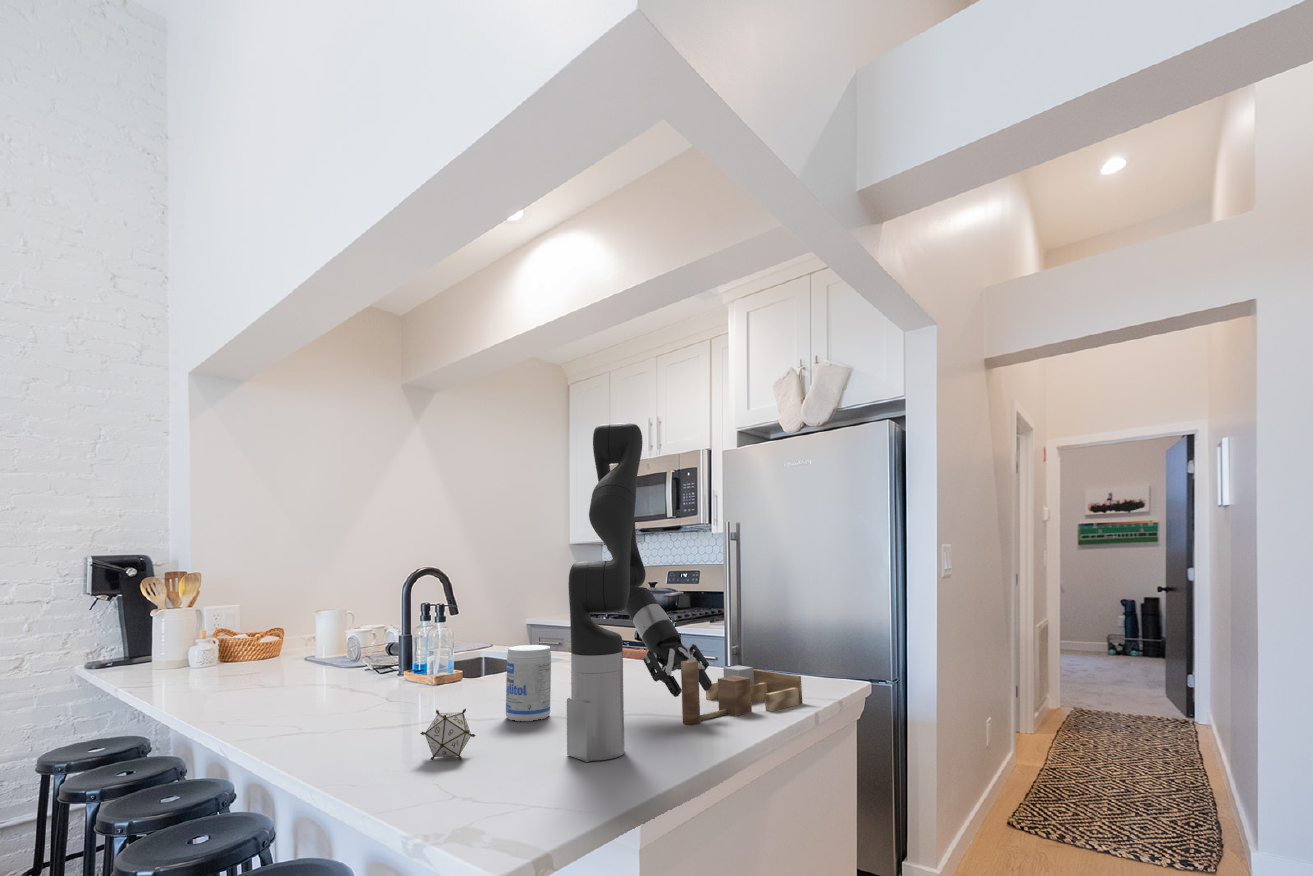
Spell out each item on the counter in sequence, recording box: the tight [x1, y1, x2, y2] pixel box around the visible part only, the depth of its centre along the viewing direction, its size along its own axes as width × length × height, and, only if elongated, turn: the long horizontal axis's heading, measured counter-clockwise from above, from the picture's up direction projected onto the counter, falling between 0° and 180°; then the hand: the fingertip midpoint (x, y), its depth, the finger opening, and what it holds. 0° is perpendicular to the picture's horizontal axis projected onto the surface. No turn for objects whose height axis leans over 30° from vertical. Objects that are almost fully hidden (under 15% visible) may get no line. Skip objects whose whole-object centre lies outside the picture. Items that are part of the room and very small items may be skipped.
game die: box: [419, 708, 477, 761], centre depth 124 cm, size 9×8×10 cm
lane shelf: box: [705, 668, 803, 712], centre depth 163 cm, size 11×20×6 cm, turn 40°
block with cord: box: [680, 660, 753, 726], centre depth 149 cm, size 17×5×12 cm, turn 130°
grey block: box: [723, 664, 754, 685], centre depth 167 cm, size 5×5×7 cm
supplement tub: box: [505, 644, 552, 722], centre depth 154 cm, size 10×10×15 cm
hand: (694, 691), depth 144 cm, fingers open, 8 cm apart
